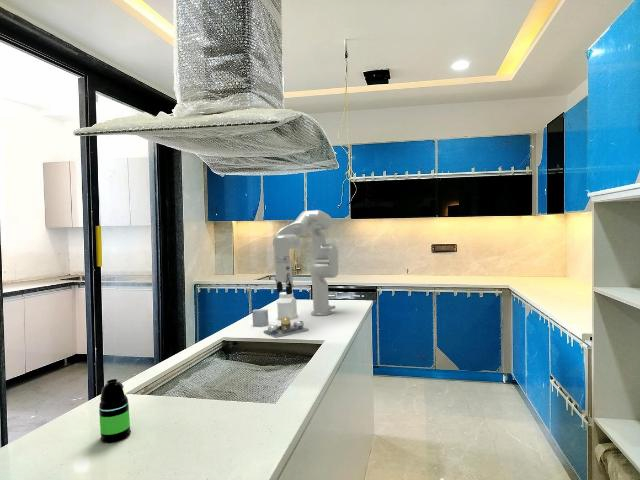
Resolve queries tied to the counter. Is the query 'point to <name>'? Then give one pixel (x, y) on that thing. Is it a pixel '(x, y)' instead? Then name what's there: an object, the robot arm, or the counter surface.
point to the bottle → (114, 413)
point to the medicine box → (260, 317)
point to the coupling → (285, 323)
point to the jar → (286, 306)
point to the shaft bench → (286, 330)
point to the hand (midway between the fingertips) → (284, 292)
